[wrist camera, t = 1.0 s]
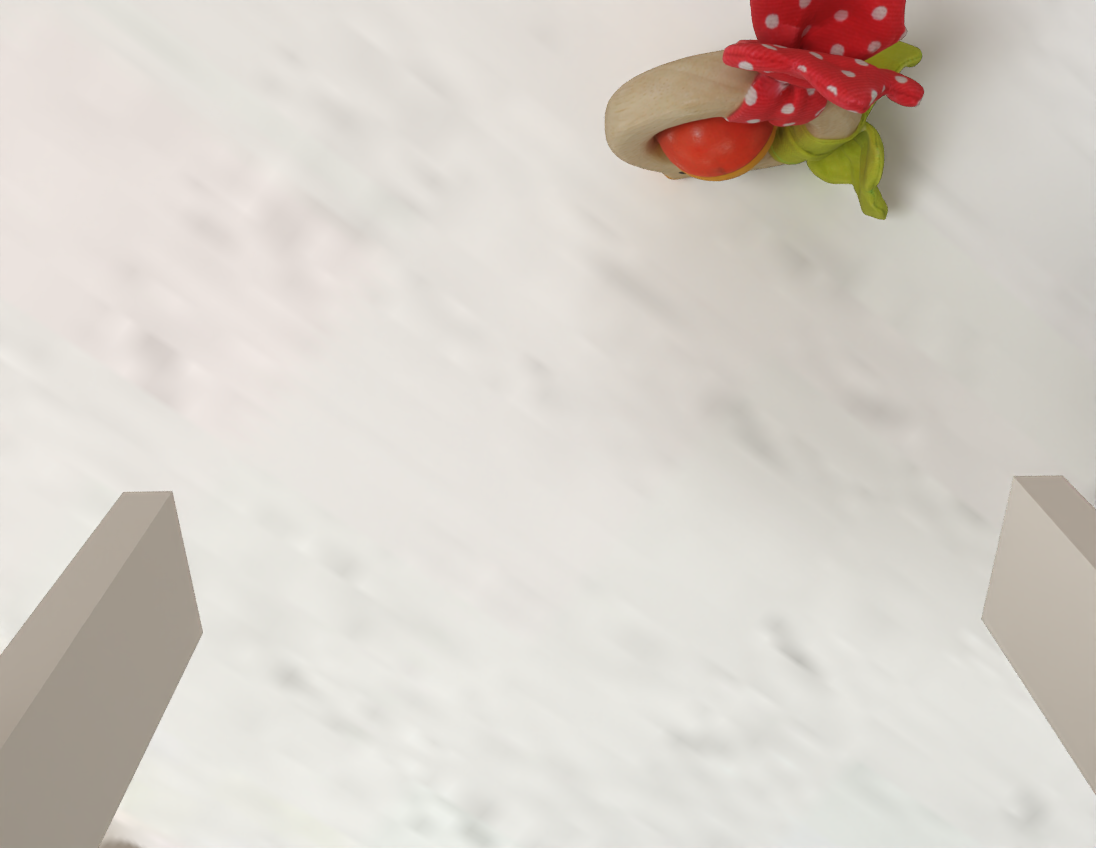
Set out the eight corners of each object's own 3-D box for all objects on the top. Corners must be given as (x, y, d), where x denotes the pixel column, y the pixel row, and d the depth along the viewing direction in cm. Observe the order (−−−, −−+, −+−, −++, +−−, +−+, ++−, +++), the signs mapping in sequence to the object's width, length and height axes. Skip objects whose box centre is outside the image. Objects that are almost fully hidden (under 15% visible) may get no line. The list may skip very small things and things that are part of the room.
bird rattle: (684, 257, 34) (960, 208, 30) (548, 261, 25) (930, 189, 21) (659, 76, 34) (938, 1, 30) (510, 7, 24) (895, -120, 20)
